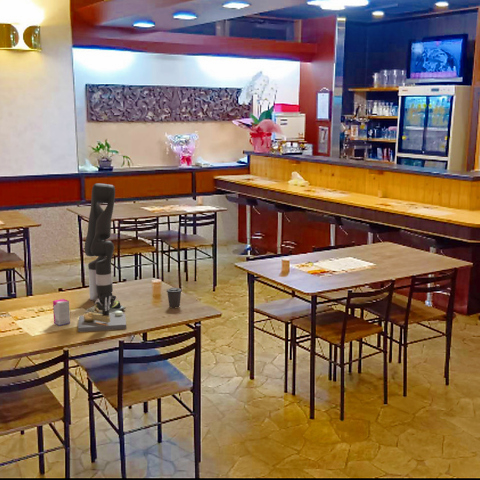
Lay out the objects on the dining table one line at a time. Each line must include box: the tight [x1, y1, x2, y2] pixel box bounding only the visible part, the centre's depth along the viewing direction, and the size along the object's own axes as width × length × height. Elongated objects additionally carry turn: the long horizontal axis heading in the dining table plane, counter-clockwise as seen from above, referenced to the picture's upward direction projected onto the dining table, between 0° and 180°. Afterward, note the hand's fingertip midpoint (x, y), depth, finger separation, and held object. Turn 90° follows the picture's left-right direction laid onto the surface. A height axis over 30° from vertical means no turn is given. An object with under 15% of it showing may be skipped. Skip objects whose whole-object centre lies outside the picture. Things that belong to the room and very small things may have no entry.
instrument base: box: [77, 310, 127, 333], centre depth 295 cm, size 18×22×4 cm
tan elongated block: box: [83, 311, 110, 323], centre depth 291 cm, size 5×14×4 cm, turn 61°
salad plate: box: [86, 300, 127, 314], centre depth 314 cm, size 19×18×5 cm
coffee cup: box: [166, 287, 183, 309], centre depth 321 cm, size 8×8×10 cm
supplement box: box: [52, 298, 71, 327], centre depth 295 cm, size 6×6×12 cm
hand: (105, 317), depth 292 cm, fingers closed
